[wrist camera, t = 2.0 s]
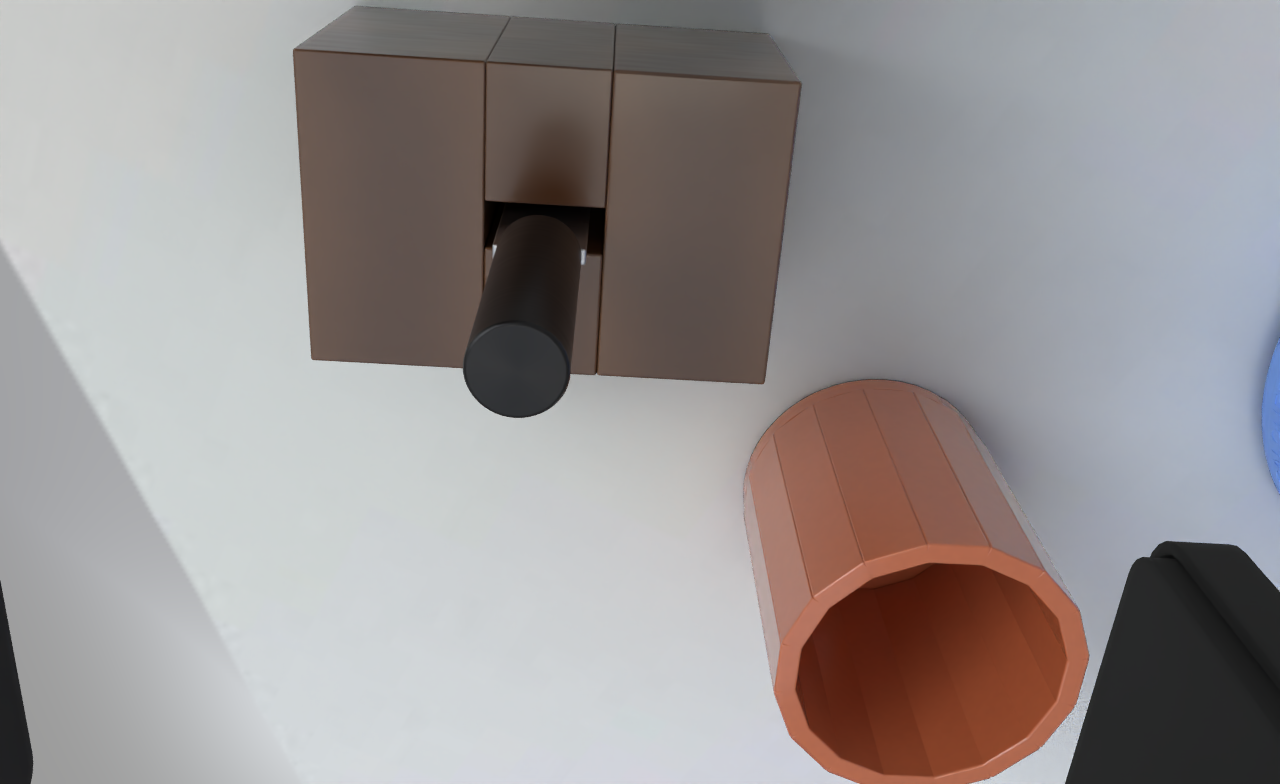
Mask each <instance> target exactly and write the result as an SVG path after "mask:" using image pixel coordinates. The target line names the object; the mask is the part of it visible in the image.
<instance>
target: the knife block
mask: <svg viewBox="0 0 1280 784" xmlns="http://www.w3.org/2000/svg"><path fill="white" fill-rule="evenodd" d="M293 61H294V77H295V94H296V111H297V128H298V144H299V161H300V178H301V195H302V211H303V228H304V245H305V262H306V278H307V295H308V312H309V328H310V345H311V358H312V360H324V361H342V362H360V363H379V364H397V365H415V366H433V367H451V368H463V359H464V355H465V351H466V348H467V345H468V341H469V338H470V335H471V331H472V328H473V324H474V321H475V318H476V314H477V311H478V308H479V304H480V301H481V298H482V294H483V291H484V288H485V284H486V281H487V277H488V274H489V271H490V267H491V264H492V261H493V258H492V245H493V242H494V239H495V235H496V232H497V229H498V226H499V222H500V219H501V216H502V213H503V210H504V206H505V203H506V202H511V203H528V204H544V205H561V206H577V207H591V209H590V220H589V231H588V243H587V254H586V264H585V265H581V270H580V280H579V291H578V301H577V311H576V321H575V332H574V342H573V352H572V362H571V373H570V374H583V375H595V374H596V372H597V374H598V375H603V376H621V377H640V378H658V379H676V380H694V381H712V382H730V383H749V384H764V382H765V378H766V369H767V361H768V353H769V345H770V337H771V329H772V321H773V313H774V305H775V297H776V289H777V281H778V273H779V265H780V257H781V249H782V241H783V233H784V225H785V217H786V208H787V200H788V192H789V184H790V176H791V168H792V160H793V152H794V144H795V136H796V128H797V120H798V112H799V104H800V96H801V88H802V84H801V81H800V80H799V78H798V77H797V75H796V74H795V72H794V71H793V69H792V68H791V66H790V65H789V63H788V62H787V60H786V59H785V57H784V56H783V54H782V53H781V51H780V50H779V48H778V47H777V45H776V44H775V42H774V41H773V39H772V38H771V36H770V35H769V34H765V33H750V32H735V31H720V30H705V29H690V28H675V27H660V26H645V25H630V24H616V26H615V24H614V23H603V22H588V21H573V20H558V19H544V18H529V17H514V16H513V17H509V16H498V15H483V14H468V13H453V12H438V11H423V10H408V9H393V8H378V7H363V6H354V7H353V8H351V9H350V10H348V11H347V12H346V13H344V14H343V15H341V16H340V17H338V18H337V19H336V20H334V21H333V22H331V23H330V24H328V25H327V26H326V27H324V28H323V29H321V30H320V31H319V32H317V33H316V34H314V35H313V36H311V37H310V38H309V39H307V40H306V41H304V42H303V43H301V44H300V45H299V46H297V47H296V48H294V49H293Z"/></svg>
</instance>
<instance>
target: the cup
mask: <svg viewBox="0 0 1280 784" xmlns="http://www.w3.org/2000/svg"><path fill="white" fill-rule="evenodd" d="M743 498H744V507H745V508H744V520H745V526H746V532H747V538H748V544H749V550H750V555H751V561H752V567H753V573H754V579H755V585H756V591H757V597H758V602H759V608H760V614H761V620H762V626H763V632H764V638H765V644H766V649H767V655H768V661H769V667H770V673H771V679H772V685H773V691H774V695H775V698H776V700H777V703H778V706H779V708H780V711H781V714H782V717H783V719H784V722H785V725H786V728H787V730H788V733H789V735H790V736H791V738H792V739H793V740H794V741H795V742H796V743H797V744H798V745H799V746H801V747H802V748H803V749H804V750H805V751H806V752H807V753H808V754H809V755H810V756H811V757H812V758H813V759H814V760H815V761H817V762H818V763H819V764H820V765H821V766H822V767H823V768H824V769H825V770H827V771H828V772H830V773H833V774H835V775H838V776H841V777H843V778H846V779H849V780H851V781H854V782H856V783H859V784H969V783H973V782H977V781H981V780H985V779H989V778H990V777H994V776H995V775H997V774H999V773H1000V772H1002V771H1004V770H1005V769H1007V768H1009V767H1010V766H1012V765H1014V764H1015V763H1017V762H1019V761H1020V760H1022V759H1024V758H1025V757H1027V756H1028V755H1030V754H1032V753H1033V752H1035V751H1037V750H1038V749H1039V748H1040V747H1042V746H1043V745H1044V744H1045V742H1046V741H1047V740H1048V739H1049V738H1050V736H1051V735H1052V734H1053V733H1054V732H1055V730H1056V729H1057V728H1058V727H1059V725H1060V724H1061V723H1062V722H1063V721H1064V719H1065V718H1066V717H1067V716H1068V715H1069V713H1070V712H1071V711H1072V710H1073V709H1074V705H1076V703H1077V699H1078V696H1079V692H1080V689H1081V685H1082V682H1083V678H1084V675H1085V671H1086V668H1087V665H1088V661H1089V651H1088V647H1087V642H1086V637H1085V633H1084V628H1083V623H1082V619H1081V614H1080V610H1079V609H1078V606H1077V605H1076V603H1075V601H1074V599H1073V598H1072V596H1071V594H1070V592H1069V591H1068V589H1067V587H1066V585H1065V584H1064V582H1063V580H1062V579H1061V577H1060V575H1059V573H1058V572H1057V570H1056V568H1055V566H1054V565H1053V563H1052V561H1051V559H1050V558H1049V556H1048V554H1047V552H1046V551H1045V549H1044V547H1043V545H1042V544H1041V542H1040V540H1039V538H1038V537H1037V535H1036V533H1035V531H1034V530H1033V528H1032V526H1031V524H1030V523H1029V521H1028V519H1027V517H1026V516H1025V514H1024V512H1023V510H1022V509H1021V507H1020V505H1019V503H1018V502H1017V500H1016V498H1015V496H1014V495H1013V493H1012V491H1011V489H1010V488H1009V486H1008V484H1007V483H1006V481H1005V479H1004V477H1003V476H1002V474H1001V472H1000V470H999V469H998V467H997V465H996V463H995V462H994V460H993V458H992V456H991V455H990V453H989V451H988V449H987V448H986V446H985V444H984V443H983V442H982V440H981V439H980V438H979V437H978V436H977V435H976V433H975V431H974V429H973V428H972V426H971V425H970V424H969V422H968V421H967V420H966V418H965V417H964V416H963V415H962V414H961V413H960V412H959V411H958V410H957V409H956V408H955V407H954V406H953V405H951V404H950V403H949V402H947V401H946V400H945V399H943V398H942V397H940V396H938V395H936V394H934V393H932V392H931V391H928V390H926V389H923V388H921V387H918V386H916V385H912V384H908V383H903V382H899V381H891V380H859V381H851V382H847V383H842V384H838V385H834V386H831V387H829V388H826V389H823V390H820V391H818V392H816V393H814V394H812V395H810V396H808V397H806V398H804V399H802V400H801V401H799V402H798V403H796V404H795V405H793V406H792V407H790V408H789V409H788V410H787V411H786V412H784V413H783V414H782V415H781V416H780V417H778V418H777V419H776V421H775V422H774V423H773V424H772V425H771V426H770V427H769V428H768V429H767V431H766V432H765V433H764V435H763V436H762V438H761V439H760V441H759V442H758V444H757V446H756V448H755V450H754V452H753V453H752V455H751V458H750V461H749V464H748V467H747V470H746V475H745V480H744V493H743Z"/></svg>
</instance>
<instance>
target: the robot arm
mask: <svg viewBox="0 0 1280 784" xmlns="http://www.w3.org/2000/svg"><path fill="white" fill-rule="evenodd" d="M32 773H33V756H32V749H31V743H30V738H29V733H28V728H27V722H26V717H25V711H24V706H23V701H22V695H21V689H20V684H19V679H18V673H17V668H16V663H15V657H14V652H13V646H12V641H11V636H10V630H9V625H8V619H7V614H6V609H5V603H4V598H3V593H2V587H1V582H0V784H31V779H32ZM1065 784H1280V592H1279V590H1278V589H1277V588H1276V587H1275V586H1274V585H1273V584H1272V582H1271V581H1270V580H1269V579H1268V578H1267V577H1266V576H1265V574H1264V573H1263V572H1262V571H1261V570H1260V569H1259V568H1258V567H1257V565H1256V564H1255V563H1254V562H1253V561H1252V560H1251V559H1250V557H1249V556H1248V555H1247V554H1246V553H1245V552H1244V551H1243V550H1241V549H1240V548H1239V547H1238V546H1234V545H1229V544H1211V543H1192V542H1173V541H1166V542H1163V543H1161V544H1159V545H1158V546H1157V547H1156V548H1155V550H1154V551H1153V552H1152V554H1151V556H1150V557H1142V558H1139V559H1137V560H1136V561H1135V562H1134V564H1133V565H1132V567H1131V569H1130V571H1129V574H1128V577H1127V580H1126V584H1125V587H1124V590H1123V594H1122V597H1121V600H1120V604H1119V607H1118V610H1117V613H1116V617H1115V620H1114V623H1113V627H1112V630H1111V633H1110V637H1109V640H1108V643H1107V647H1106V650H1105V653H1104V657H1103V660H1102V663H1101V666H1100V670H1099V673H1098V676H1097V680H1096V683H1095V686H1094V690H1093V693H1092V696H1091V700H1090V703H1089V706H1088V710H1087V713H1086V716H1085V719H1084V723H1083V726H1082V729H1081V733H1080V736H1079V739H1078V743H1077V746H1076V749H1075V753H1074V756H1073V759H1072V763H1071V766H1070V769H1069V772H1068V776H1067V779H1066V782H1065Z"/></svg>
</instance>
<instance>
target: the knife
mask: <svg viewBox="0 0 1280 784" xmlns="http://www.w3.org/2000/svg"><path fill="white" fill-rule="evenodd" d="M590 209H591V207H577V206H561V205H544V204H528V203H511V202H506V203H505V206H504V210H503V213H502V216H501V219H500V222H499V226H498V229H497V232H496V235H495V239H494V242H493V245H492V258H493V261H492V264H491V267H490V271H489V274H488V277H487V281H486V284H485V288H484V291H483V294H482V298H481V301H480V304H479V308H478V311H477V314H476V318H475V321H474V324H473V328H472V331H471V335H470V338H469V341H468V345H467V348H466V351H465V355H464V359H463V374H464V379H465V382H466V384H467V387H468V389H469V390H470V392H471V393H472V395H473V396H474V397H475V399H476V400H477V401H478V402H479V403H480V404H482V405H483V406H484V407H486V408H487V409H489V410H490V411H492V412H494V413H497V414H499V415H502V416H507V417H513V418H524V417H530V416H534V415H537V414H540V413H542V412H544V411H546V410H548V409H549V408H551V407H552V406H554V405H555V404H556V403H557V402H558V401H559V400H560V398H561V397H562V396H563V394H564V393H565V391H566V389H567V387H568V384H569V380H570V373H571V362H572V352H573V342H574V332H575V321H576V311H577V301H578V291H579V280H580V270H581V265H585V264H586V254H587V243H588V231H589V220H590Z"/></svg>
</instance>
